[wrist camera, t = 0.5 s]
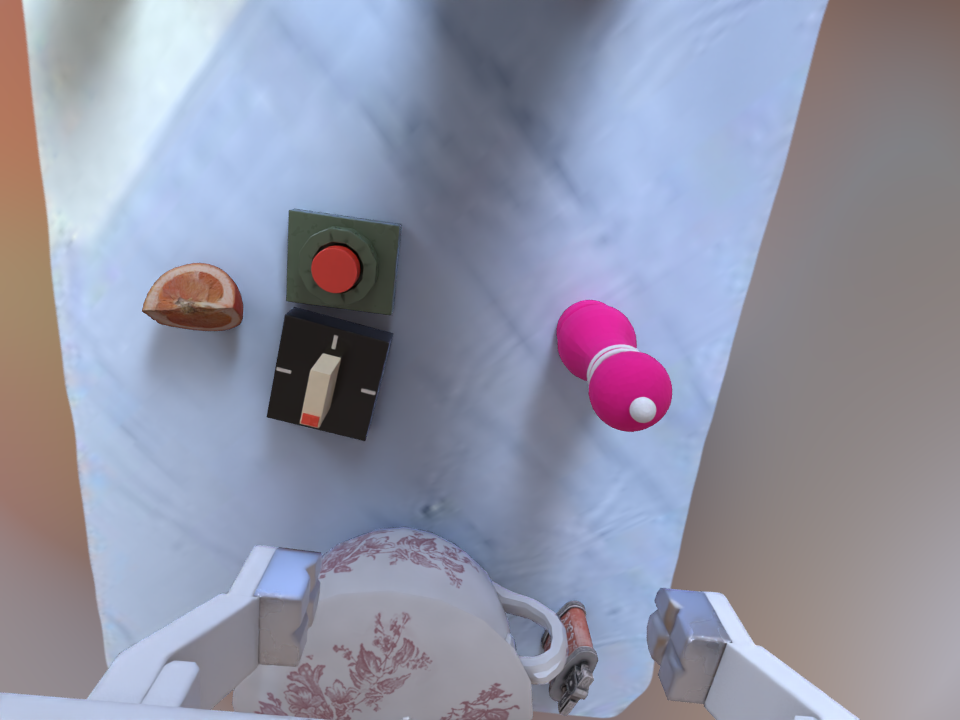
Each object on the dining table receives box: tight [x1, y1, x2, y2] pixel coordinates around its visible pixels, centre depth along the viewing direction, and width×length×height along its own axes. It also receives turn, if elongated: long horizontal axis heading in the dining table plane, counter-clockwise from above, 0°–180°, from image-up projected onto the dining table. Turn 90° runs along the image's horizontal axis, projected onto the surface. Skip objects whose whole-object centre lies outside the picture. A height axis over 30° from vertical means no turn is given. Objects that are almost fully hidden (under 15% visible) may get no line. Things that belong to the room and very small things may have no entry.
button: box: [311, 245, 360, 293], centre depth 50 cm, size 4×4×2 cm
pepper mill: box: [557, 300, 672, 432], centre depth 47 cm, size 7×7×20 cm
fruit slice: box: [142, 263, 243, 331], centre depth 52 cm, size 8×7×5 cm
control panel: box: [267, 307, 393, 441], centre depth 56 cm, size 11×10×3 cm
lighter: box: [541, 601, 598, 716], centre depth 65 cm, size 8×3×10 cm, turn 153°
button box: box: [286, 209, 402, 315], centre depth 52 cm, size 10×8×4 cm
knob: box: [300, 353, 341, 428], centre depth 52 cm, size 6×2×5 cm, turn 164°
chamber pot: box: [232, 527, 569, 720], centre depth 57 cm, size 28×28×21 cm
